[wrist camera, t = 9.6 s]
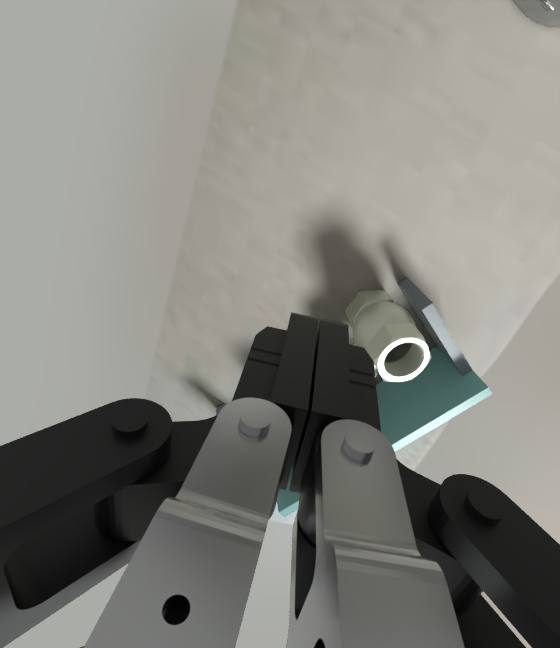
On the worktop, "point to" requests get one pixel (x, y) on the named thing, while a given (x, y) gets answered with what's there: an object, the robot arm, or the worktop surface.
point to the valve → (387, 336)
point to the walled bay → (419, 389)
